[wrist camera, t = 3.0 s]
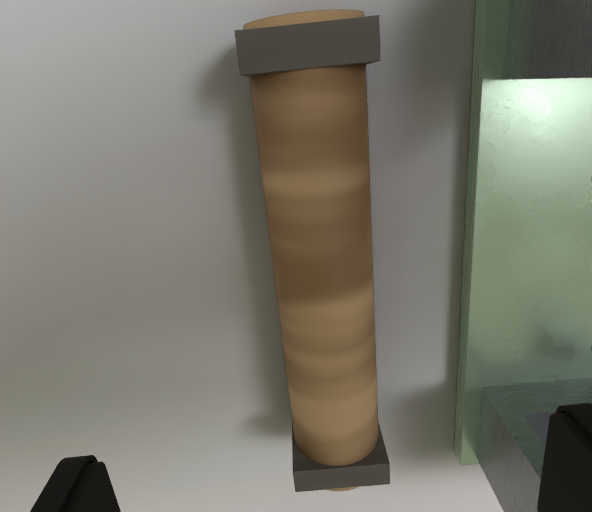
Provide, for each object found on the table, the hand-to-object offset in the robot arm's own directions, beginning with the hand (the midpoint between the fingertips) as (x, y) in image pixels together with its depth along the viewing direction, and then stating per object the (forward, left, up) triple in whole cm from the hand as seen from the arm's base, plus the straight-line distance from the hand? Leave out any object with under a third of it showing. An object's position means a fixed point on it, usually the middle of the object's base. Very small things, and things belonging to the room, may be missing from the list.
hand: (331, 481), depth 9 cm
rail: (0, +1, -12) cm, 12 cm away
